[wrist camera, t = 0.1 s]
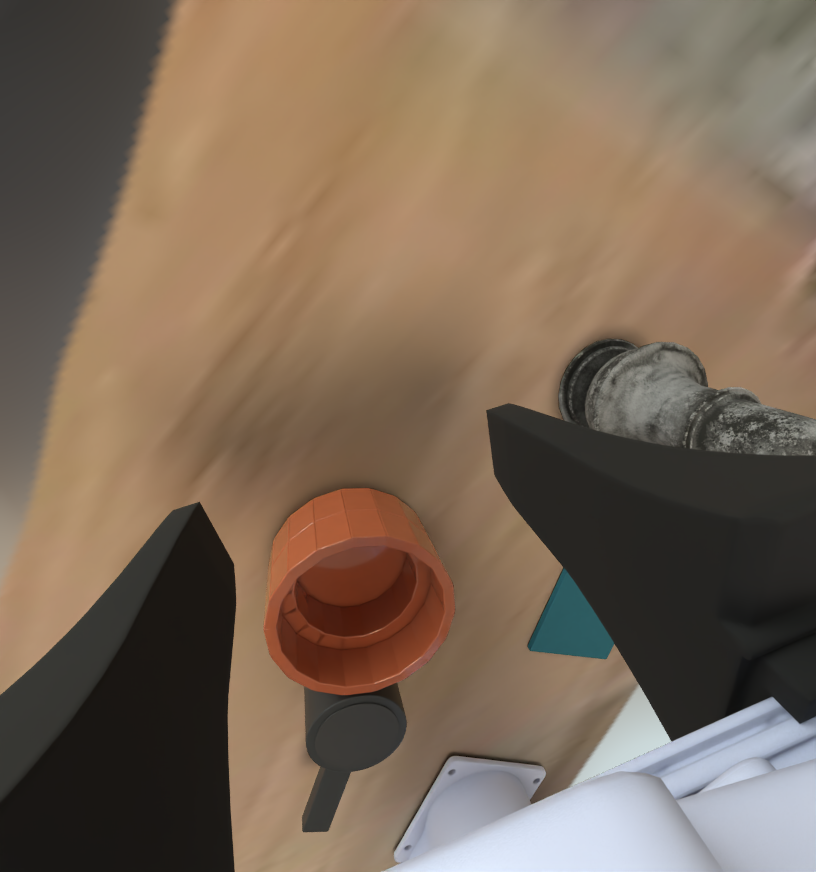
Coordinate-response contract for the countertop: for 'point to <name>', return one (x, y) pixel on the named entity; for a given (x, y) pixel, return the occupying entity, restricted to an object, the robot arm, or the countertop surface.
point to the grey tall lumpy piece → (674, 403)
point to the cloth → (570, 625)
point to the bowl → (355, 593)
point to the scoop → (347, 743)
